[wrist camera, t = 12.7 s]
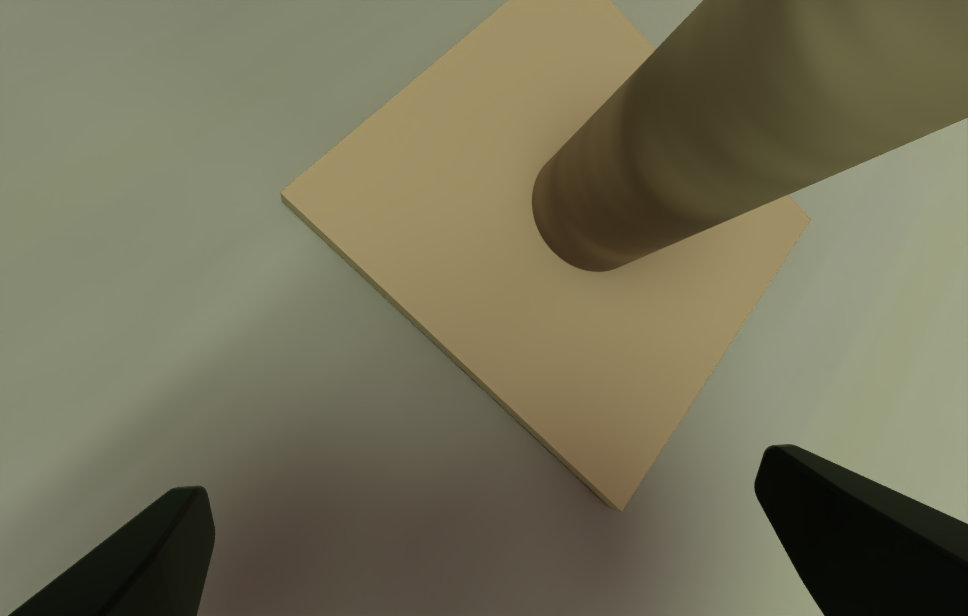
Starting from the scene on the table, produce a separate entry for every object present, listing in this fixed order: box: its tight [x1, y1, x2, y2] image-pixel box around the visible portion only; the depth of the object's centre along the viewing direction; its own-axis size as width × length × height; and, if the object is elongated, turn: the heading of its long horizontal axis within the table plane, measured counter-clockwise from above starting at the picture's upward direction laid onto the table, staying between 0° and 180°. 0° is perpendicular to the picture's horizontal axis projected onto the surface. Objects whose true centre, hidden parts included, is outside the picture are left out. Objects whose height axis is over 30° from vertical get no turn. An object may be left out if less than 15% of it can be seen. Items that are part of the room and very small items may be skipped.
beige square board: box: [280, 0, 811, 512], centre depth 20 cm, size 16×16×1 cm
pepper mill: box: [532, 0, 968, 272], centre depth 14 cm, size 5×5×13 cm
